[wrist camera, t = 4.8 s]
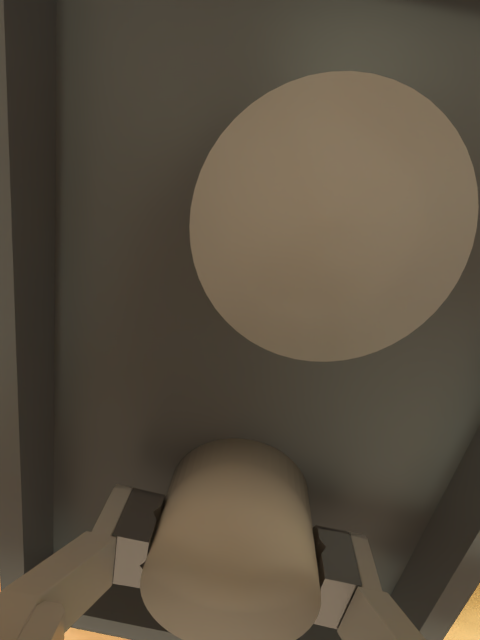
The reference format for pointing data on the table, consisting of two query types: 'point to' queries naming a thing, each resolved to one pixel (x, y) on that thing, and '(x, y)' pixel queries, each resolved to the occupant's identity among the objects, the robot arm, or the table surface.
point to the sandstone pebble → (234, 547)
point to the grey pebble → (333, 216)
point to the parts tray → (194, 305)
